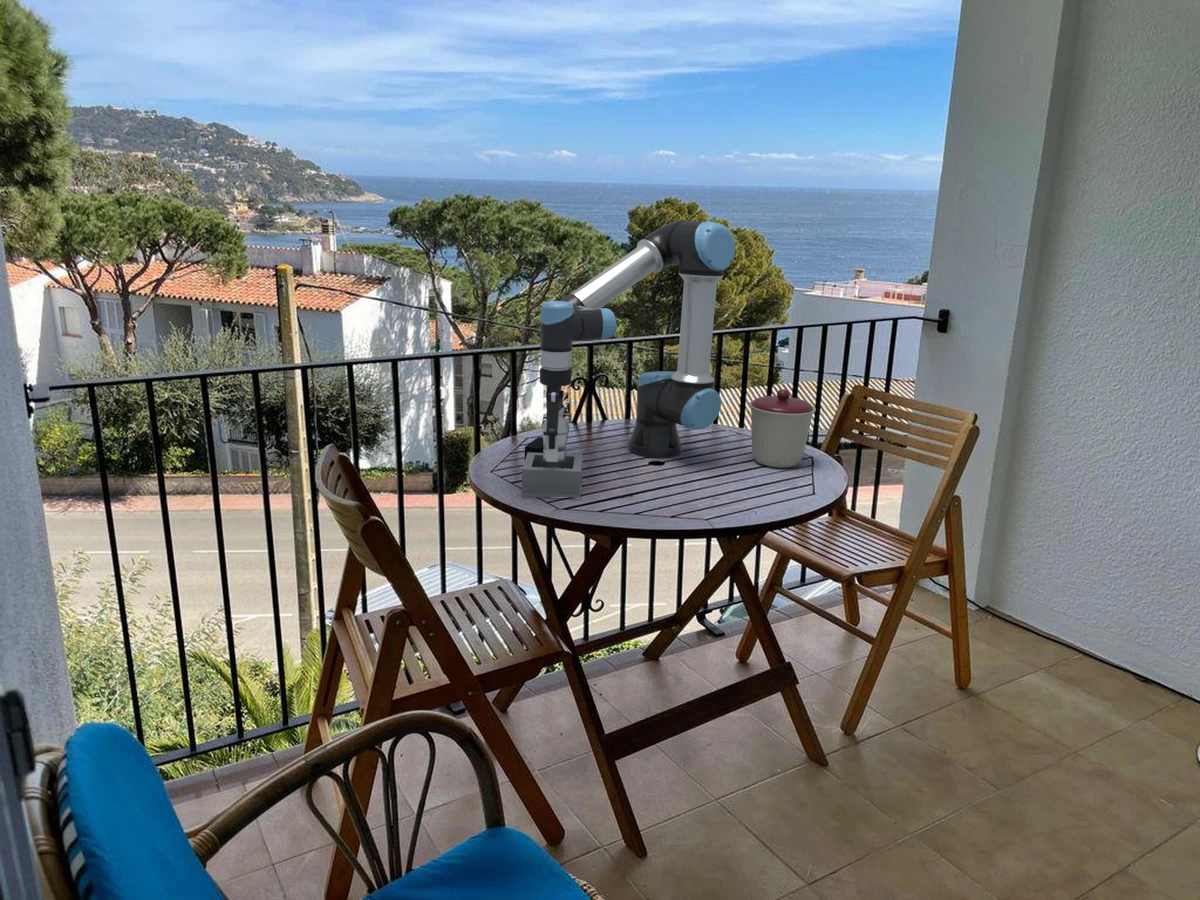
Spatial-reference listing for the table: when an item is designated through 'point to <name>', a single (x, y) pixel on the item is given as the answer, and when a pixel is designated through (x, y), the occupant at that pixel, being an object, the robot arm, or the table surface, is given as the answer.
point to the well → (551, 477)
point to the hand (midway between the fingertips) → (553, 453)
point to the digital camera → (535, 446)
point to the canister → (780, 429)
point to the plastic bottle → (562, 441)
